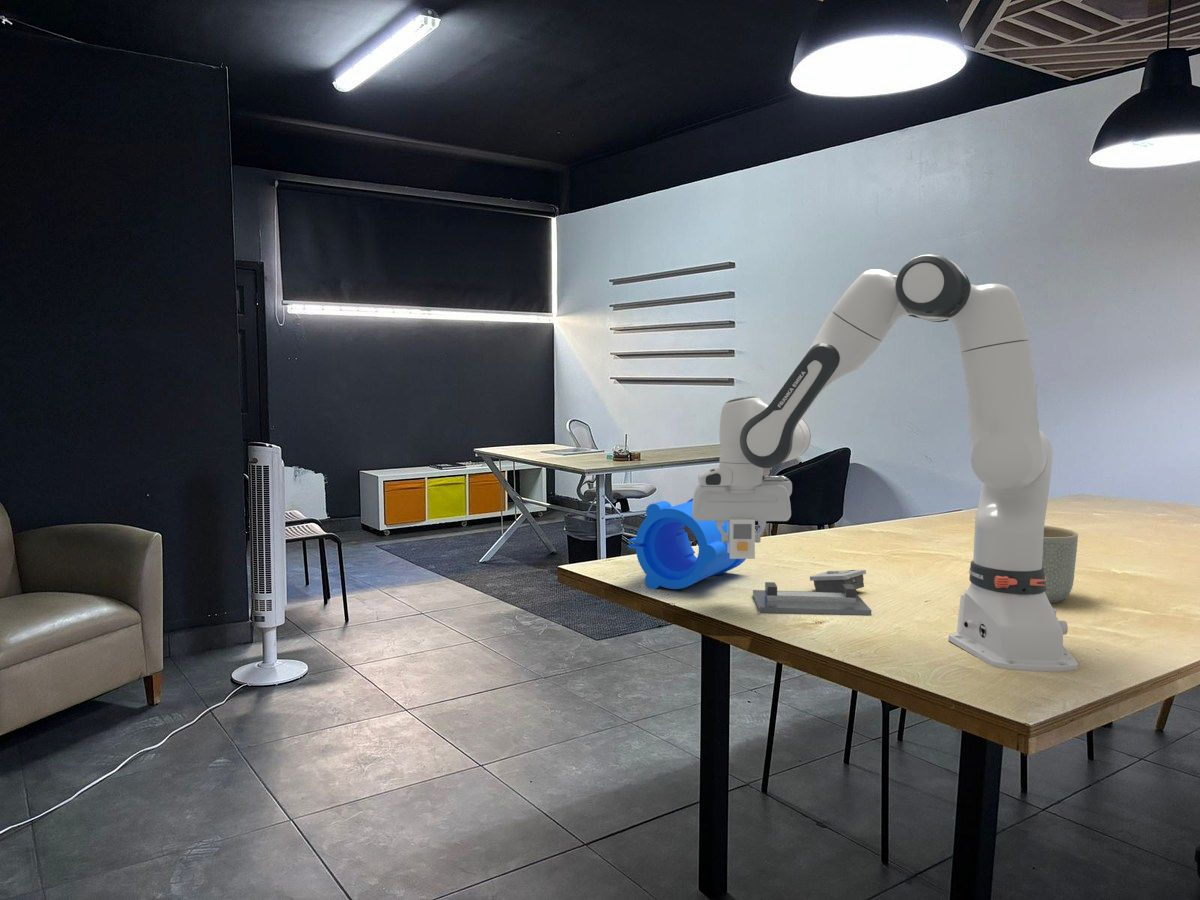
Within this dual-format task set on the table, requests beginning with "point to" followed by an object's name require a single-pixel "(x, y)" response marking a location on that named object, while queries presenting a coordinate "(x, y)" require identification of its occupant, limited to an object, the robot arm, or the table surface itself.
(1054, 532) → the planter
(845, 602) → the din board
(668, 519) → the tube
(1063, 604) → the table surface
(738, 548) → the din module
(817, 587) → the electrical switch
